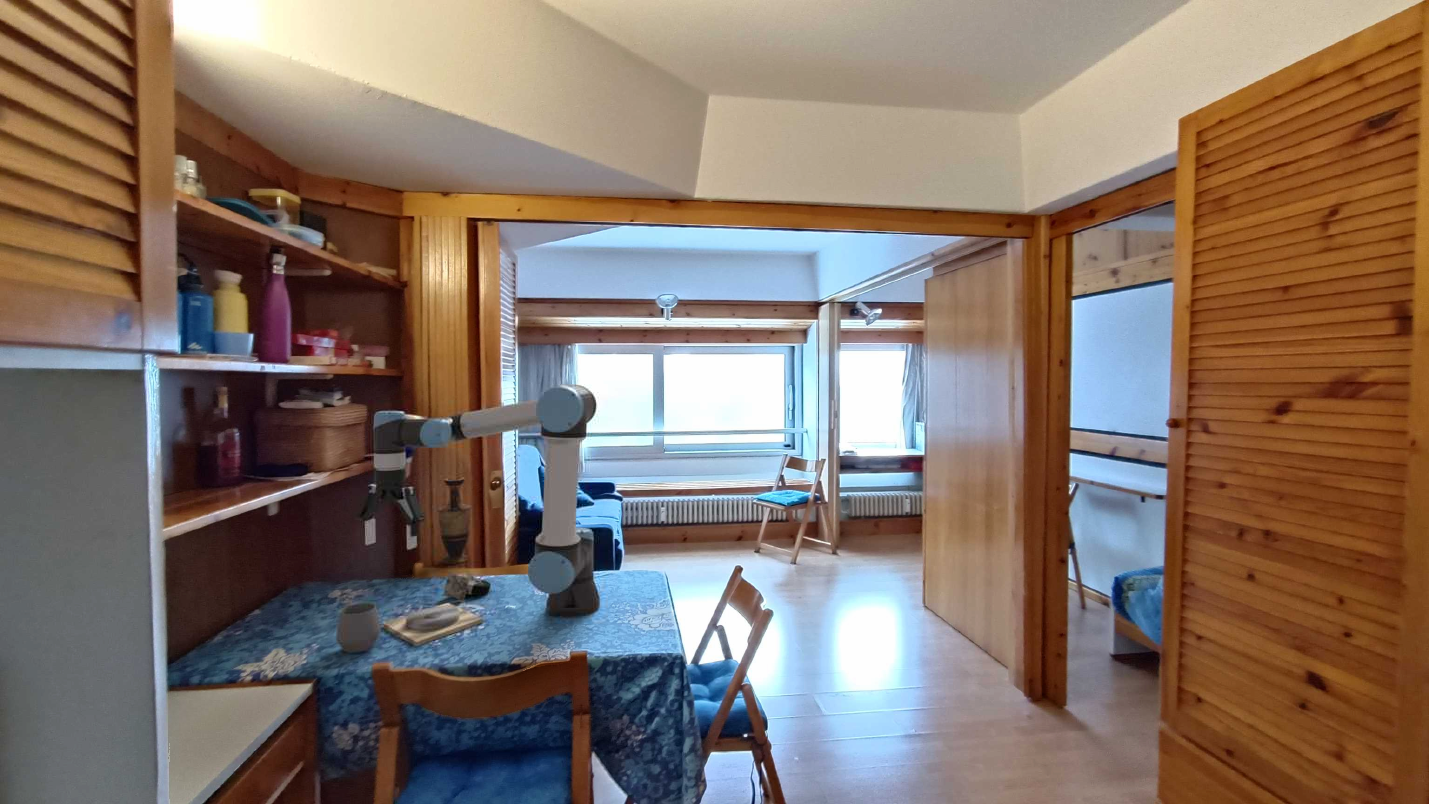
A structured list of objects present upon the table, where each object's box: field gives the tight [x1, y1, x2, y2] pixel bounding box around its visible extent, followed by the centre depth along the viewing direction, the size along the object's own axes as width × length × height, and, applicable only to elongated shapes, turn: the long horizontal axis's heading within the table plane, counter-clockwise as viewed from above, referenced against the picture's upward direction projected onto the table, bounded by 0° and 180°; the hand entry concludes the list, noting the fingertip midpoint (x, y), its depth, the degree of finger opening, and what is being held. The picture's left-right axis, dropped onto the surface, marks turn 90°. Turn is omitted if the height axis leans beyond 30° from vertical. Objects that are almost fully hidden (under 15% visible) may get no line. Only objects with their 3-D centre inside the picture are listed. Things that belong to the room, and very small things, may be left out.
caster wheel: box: [442, 572, 492, 601], centre depth 182 cm, size 7×11×10 cm
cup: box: [335, 602, 382, 654], centre depth 146 cm, size 10×9×10 cm
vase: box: [437, 477, 472, 565], centre depth 214 cm, size 11×11×30 cm
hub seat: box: [382, 602, 484, 647], centre depth 160 cm, size 18×18×3 cm
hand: (390, 545), depth 161 cm, fingers open, 13 cm apart
